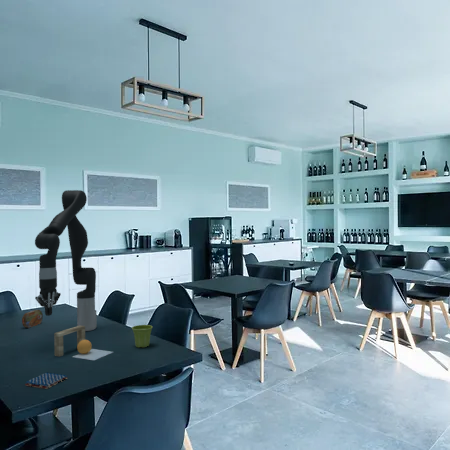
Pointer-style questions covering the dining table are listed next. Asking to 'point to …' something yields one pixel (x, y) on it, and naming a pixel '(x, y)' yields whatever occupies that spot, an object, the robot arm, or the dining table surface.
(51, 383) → the woven mat
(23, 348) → the dining table surface
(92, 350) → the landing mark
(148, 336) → the plant pot
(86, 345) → the ball
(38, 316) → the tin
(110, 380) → the dining table surface
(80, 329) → the bridge
